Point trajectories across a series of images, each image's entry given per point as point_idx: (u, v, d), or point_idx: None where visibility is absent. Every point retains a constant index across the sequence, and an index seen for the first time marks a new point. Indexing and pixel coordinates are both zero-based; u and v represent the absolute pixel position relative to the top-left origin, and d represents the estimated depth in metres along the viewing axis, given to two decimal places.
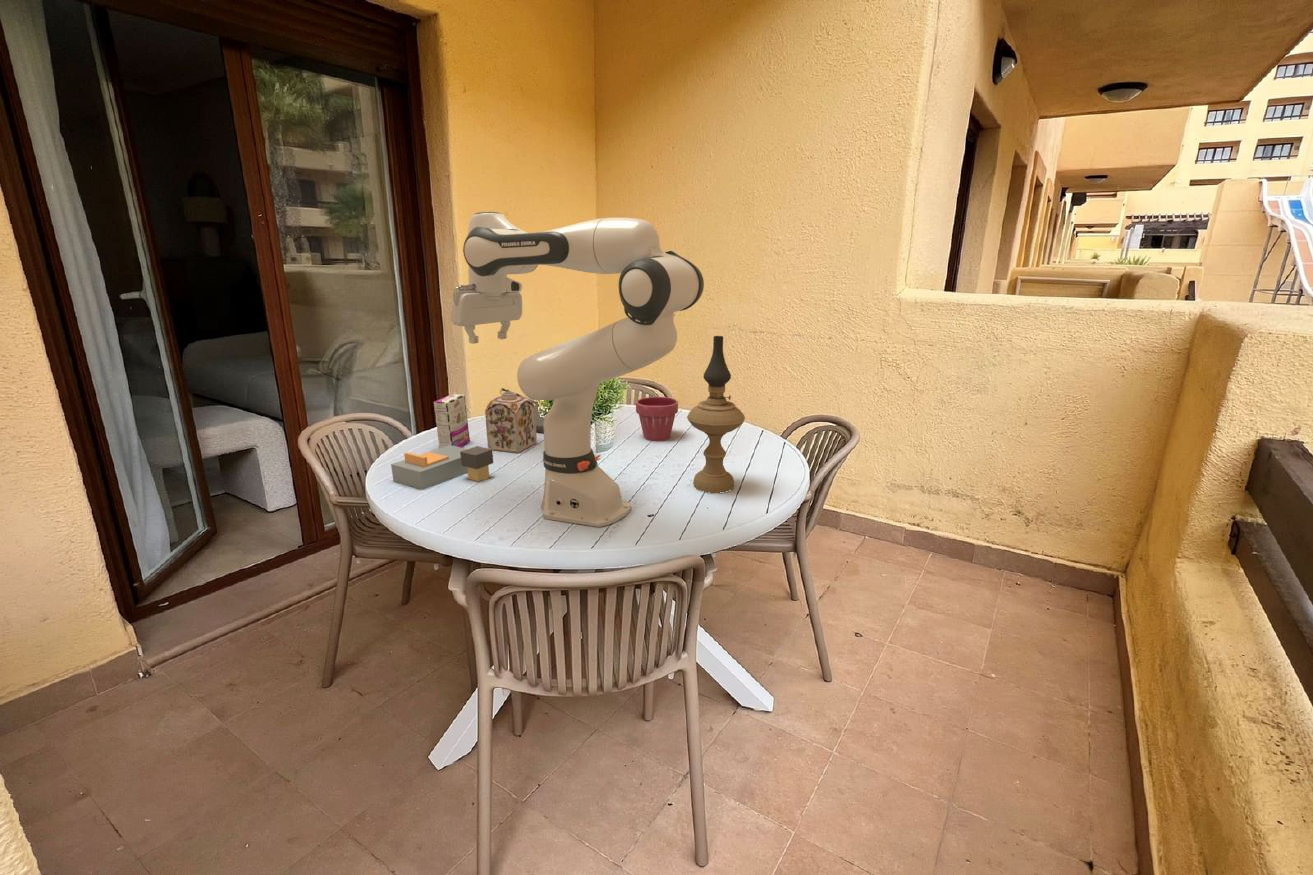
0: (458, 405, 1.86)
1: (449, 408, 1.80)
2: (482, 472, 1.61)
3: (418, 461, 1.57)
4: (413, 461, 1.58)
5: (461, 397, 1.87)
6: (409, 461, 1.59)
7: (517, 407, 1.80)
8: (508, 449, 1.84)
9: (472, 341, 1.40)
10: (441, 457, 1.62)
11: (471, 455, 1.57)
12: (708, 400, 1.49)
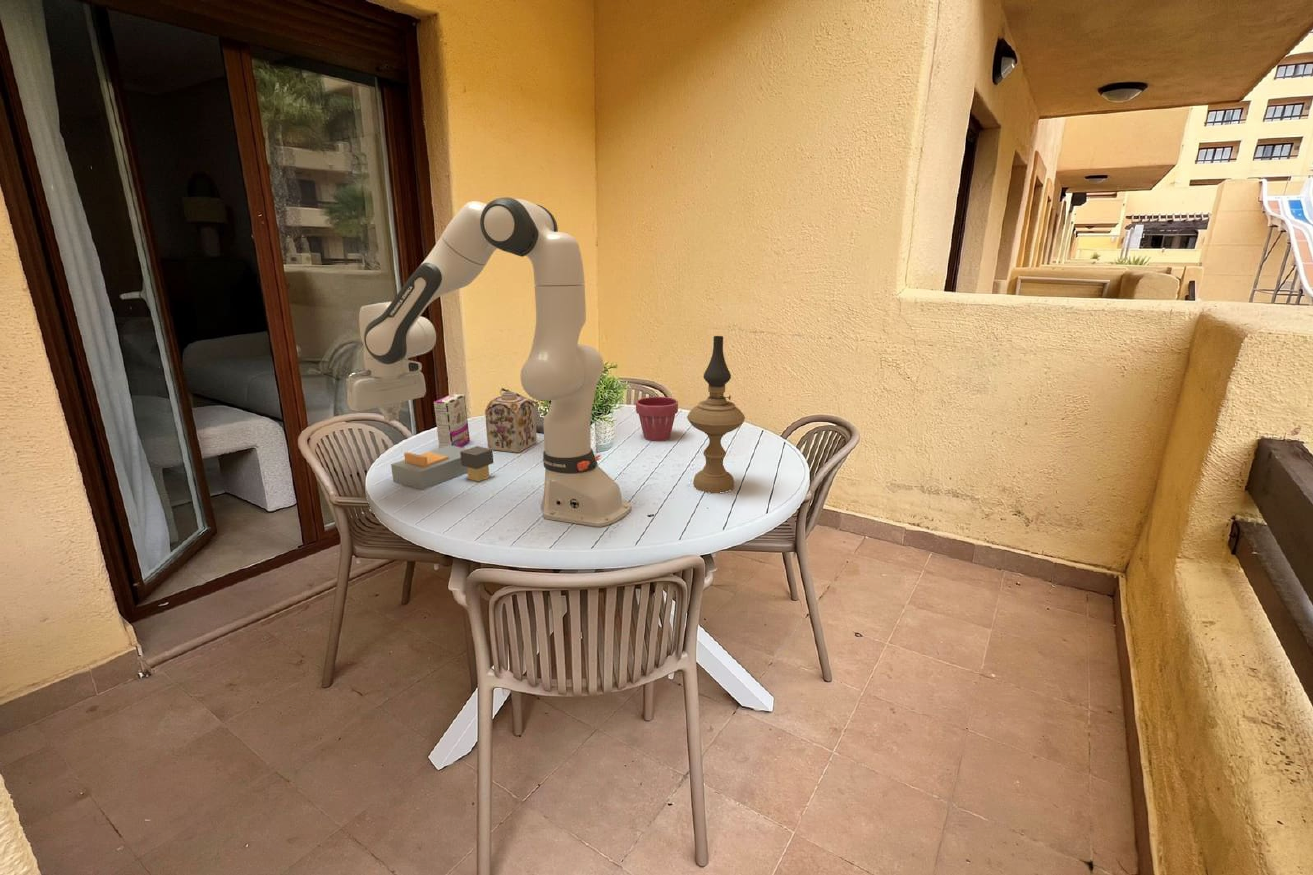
0: (458, 405, 1.86)
1: (449, 408, 1.80)
2: (482, 472, 1.61)
3: (418, 461, 1.57)
4: (413, 461, 1.58)
5: (461, 397, 1.87)
6: (409, 461, 1.59)
7: (517, 407, 1.80)
8: (508, 449, 1.84)
9: (387, 420, 1.48)
10: (441, 457, 1.62)
11: (471, 455, 1.57)
12: (708, 400, 1.49)
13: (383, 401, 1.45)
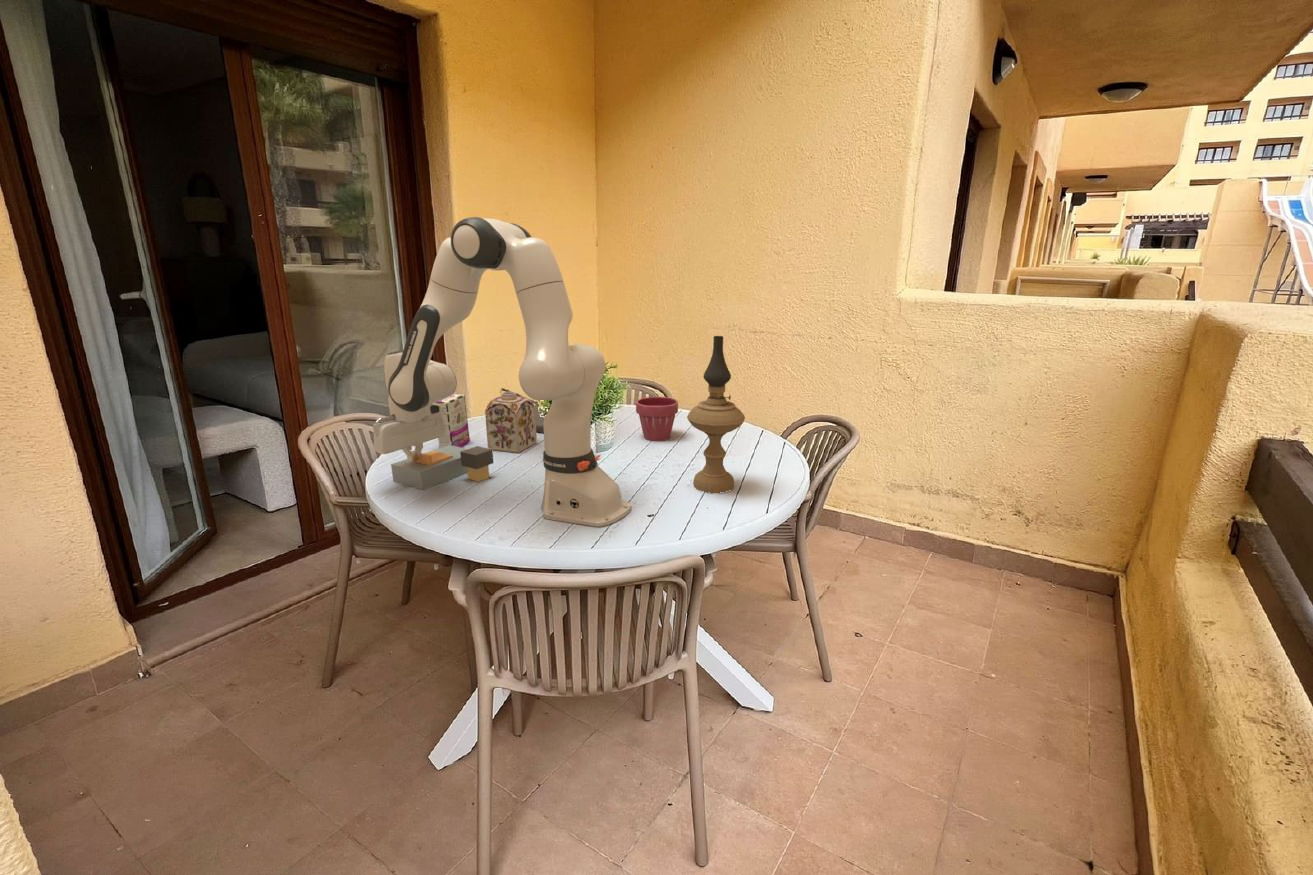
0: (458, 405, 1.86)
1: (449, 408, 1.80)
2: (482, 472, 1.61)
3: (422, 460, 1.58)
4: (417, 460, 1.59)
5: (461, 397, 1.87)
6: None
7: (517, 407, 1.80)
8: (508, 449, 1.84)
9: (410, 460, 1.56)
10: (445, 456, 1.63)
11: (471, 455, 1.57)
12: (708, 400, 1.49)
13: (407, 443, 1.52)
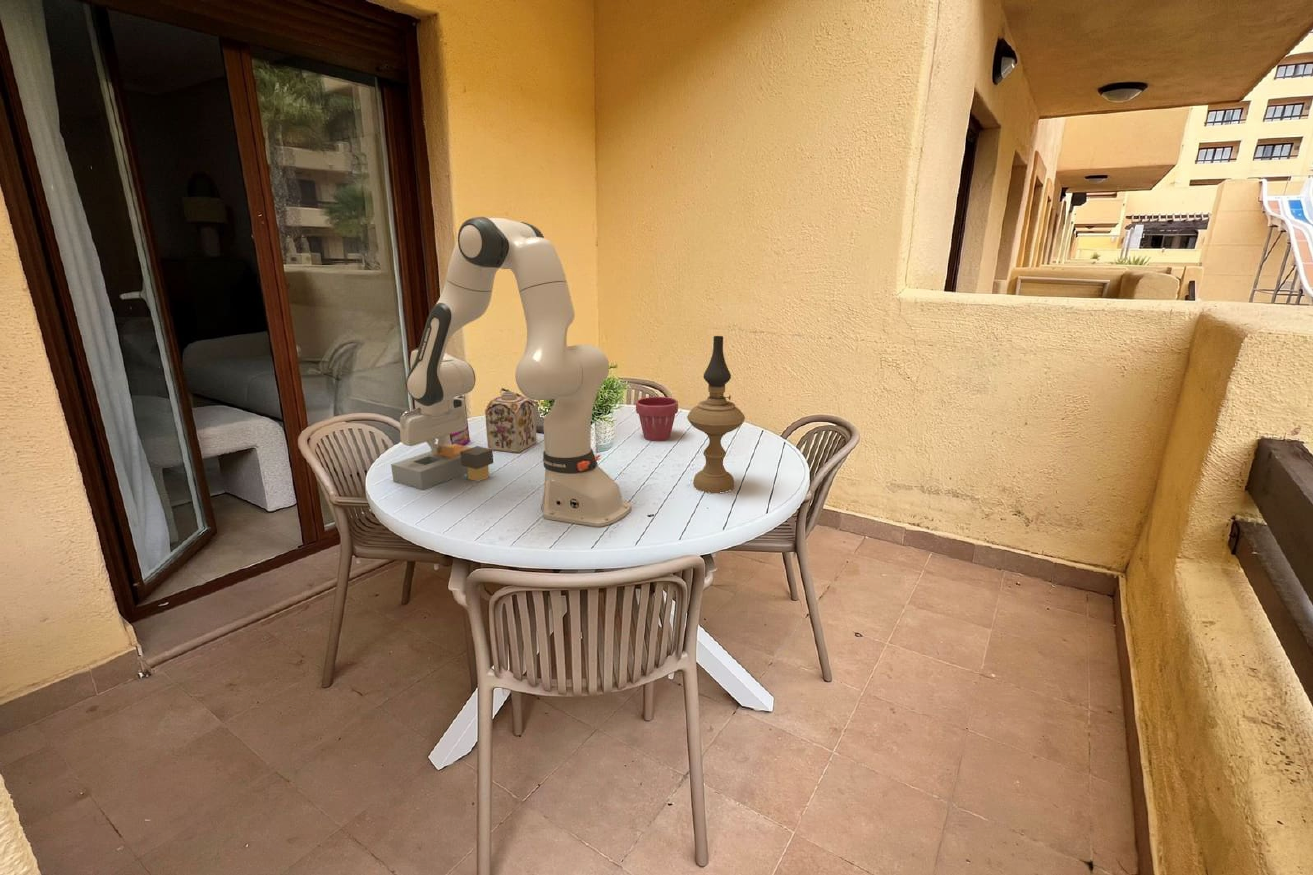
0: None
1: None
2: (482, 472, 1.61)
3: (445, 452, 1.64)
4: None
5: (461, 397, 1.87)
6: None
7: (517, 407, 1.80)
8: (508, 449, 1.84)
9: (434, 452, 1.62)
10: (466, 448, 1.69)
11: (471, 455, 1.57)
12: (708, 400, 1.49)
13: (431, 436, 1.59)
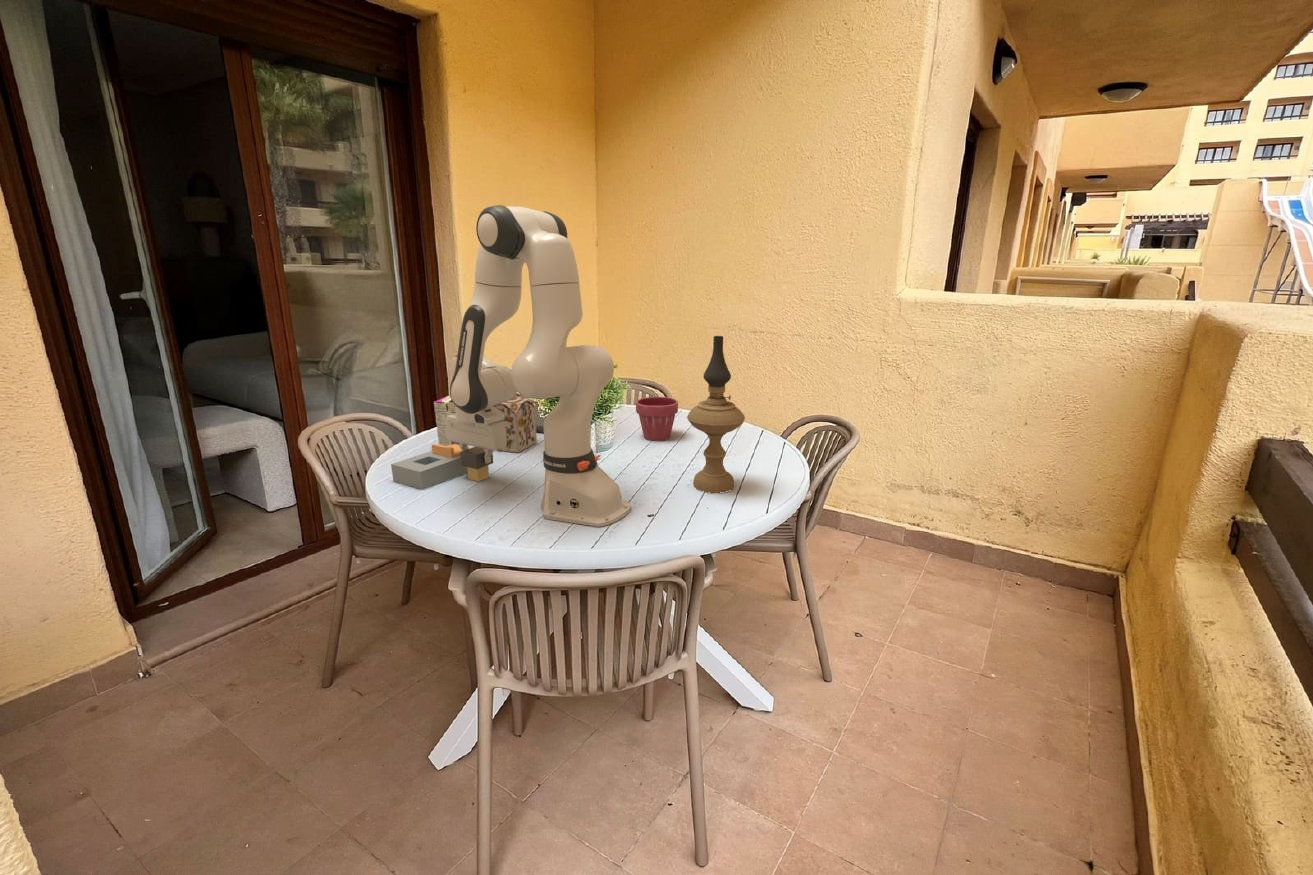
0: None
1: (449, 408, 1.80)
2: (482, 472, 1.61)
3: (445, 452, 1.64)
4: (440, 452, 1.65)
5: None
6: (436, 452, 1.66)
7: (517, 407, 1.80)
8: (508, 449, 1.84)
9: None
10: None
11: (471, 455, 1.57)
12: (708, 400, 1.49)
13: (463, 440, 1.59)
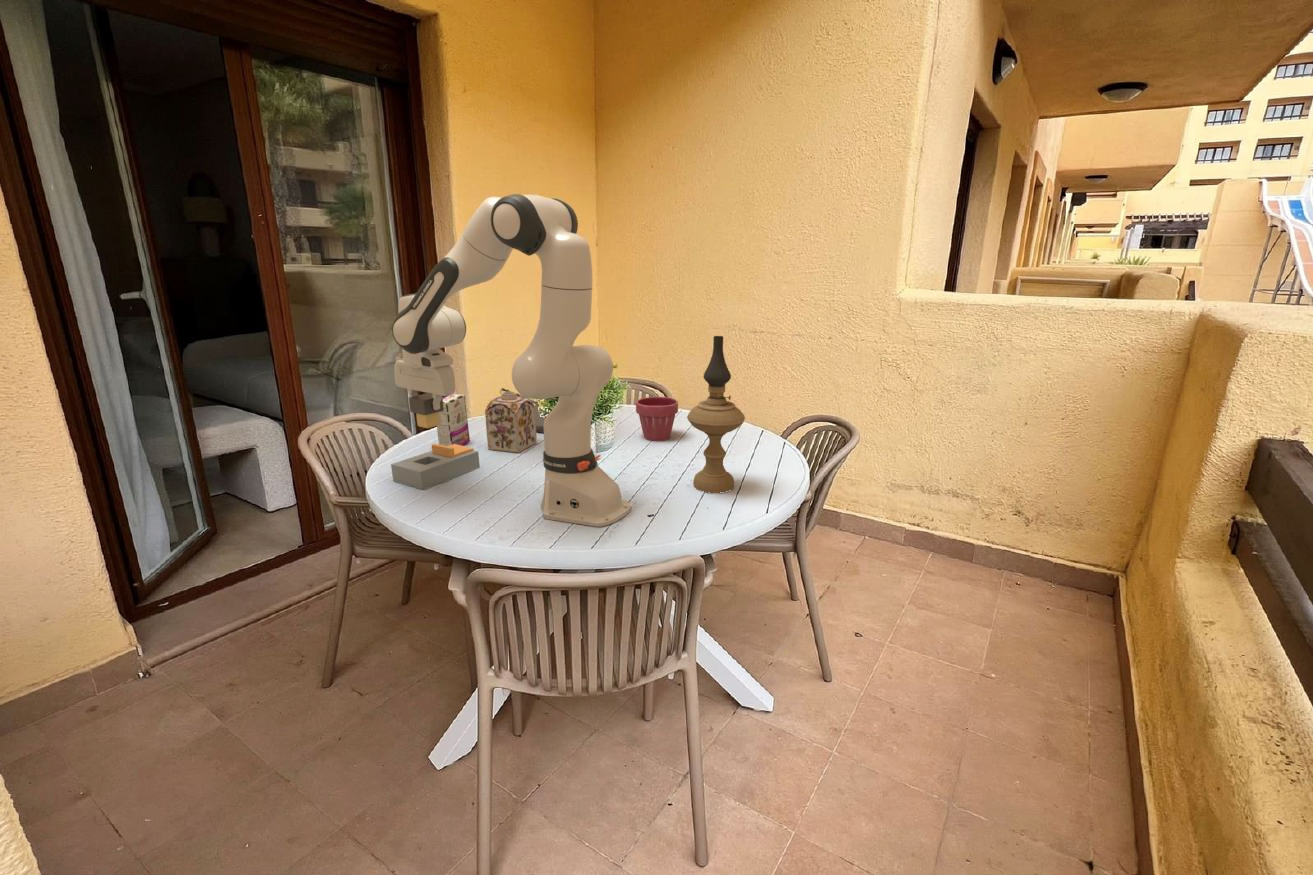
0: (458, 405, 1.86)
1: (449, 408, 1.80)
2: (432, 419, 1.57)
3: (445, 452, 1.64)
4: (440, 452, 1.65)
5: (461, 397, 1.87)
6: (436, 452, 1.66)
7: (517, 407, 1.80)
8: (508, 449, 1.84)
9: None
10: (466, 448, 1.69)
11: (419, 401, 1.53)
12: (708, 400, 1.49)
13: (411, 385, 1.55)
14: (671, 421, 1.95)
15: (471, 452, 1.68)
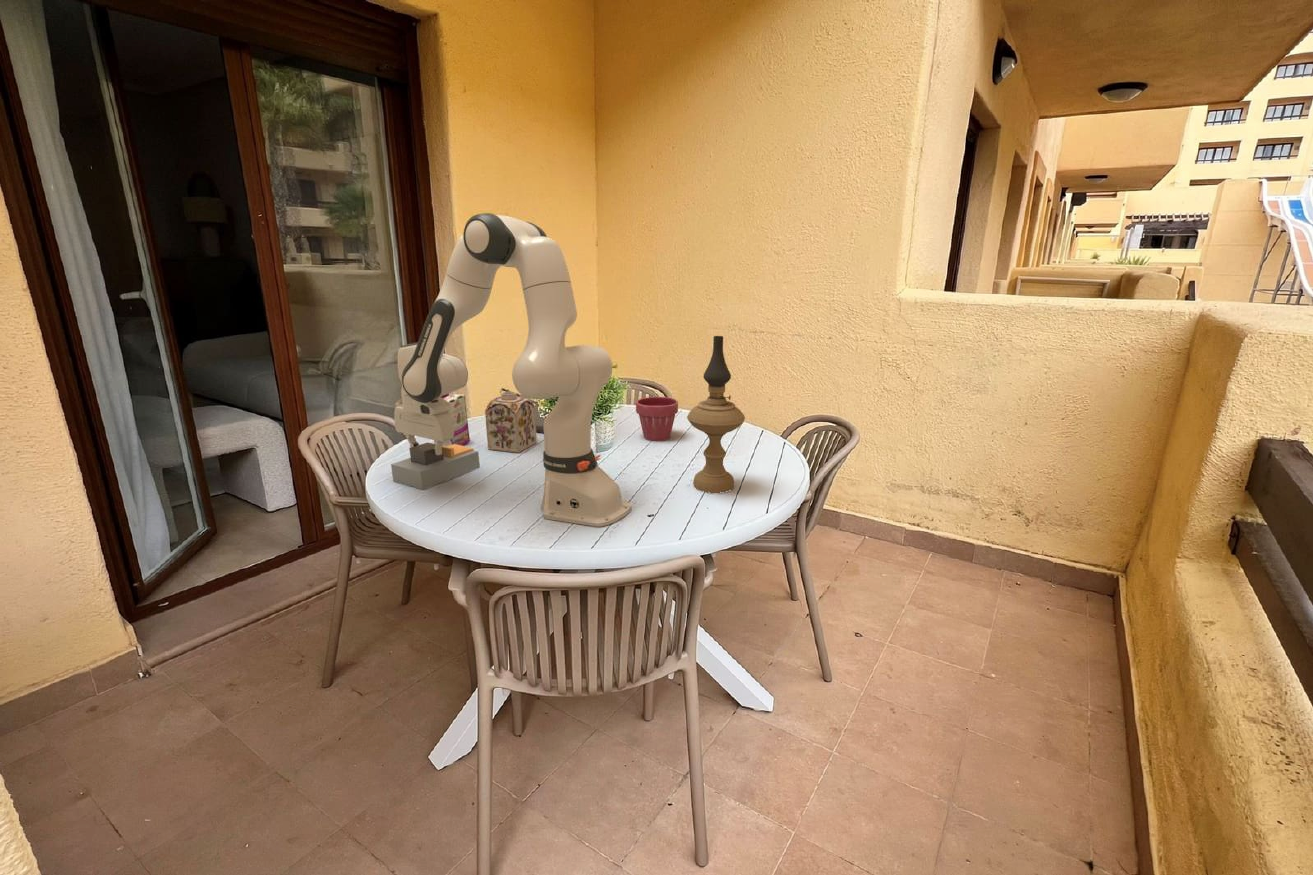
0: (458, 405, 1.86)
1: None
2: None
3: (445, 452, 1.64)
4: None
5: (461, 397, 1.87)
6: None
7: (517, 407, 1.80)
8: (508, 449, 1.84)
9: None
10: (466, 448, 1.69)
11: (420, 451, 1.57)
12: (708, 400, 1.49)
13: (411, 431, 1.58)
14: (671, 421, 1.95)
15: (471, 452, 1.68)
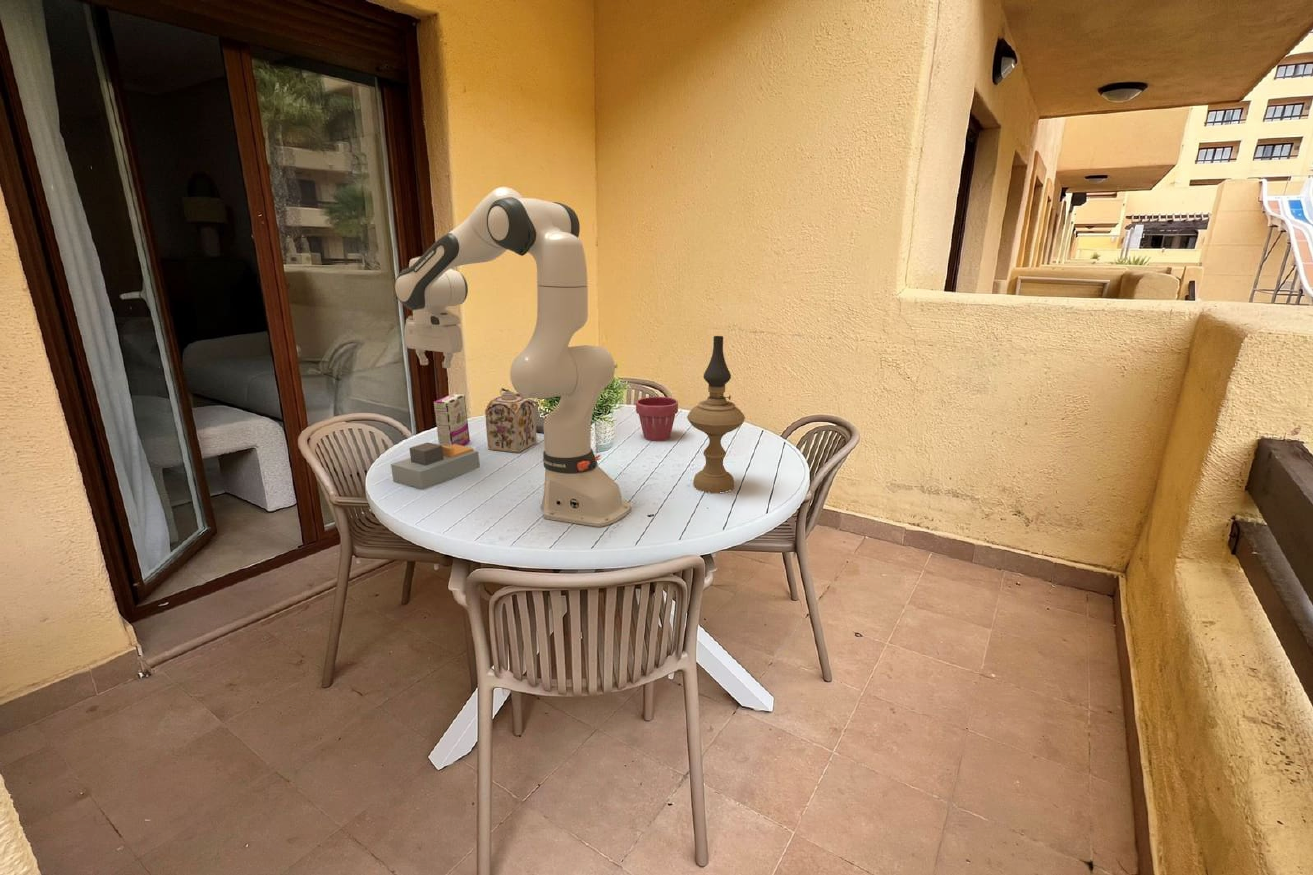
0: (458, 405, 1.86)
1: (449, 408, 1.80)
2: None
3: (445, 452, 1.64)
4: None
5: (461, 397, 1.87)
6: None
7: (517, 407, 1.80)
8: (508, 449, 1.84)
9: None
10: (466, 448, 1.69)
11: (420, 451, 1.57)
12: (708, 400, 1.49)
13: (421, 345, 1.64)
14: (671, 421, 1.95)
15: (471, 452, 1.68)
